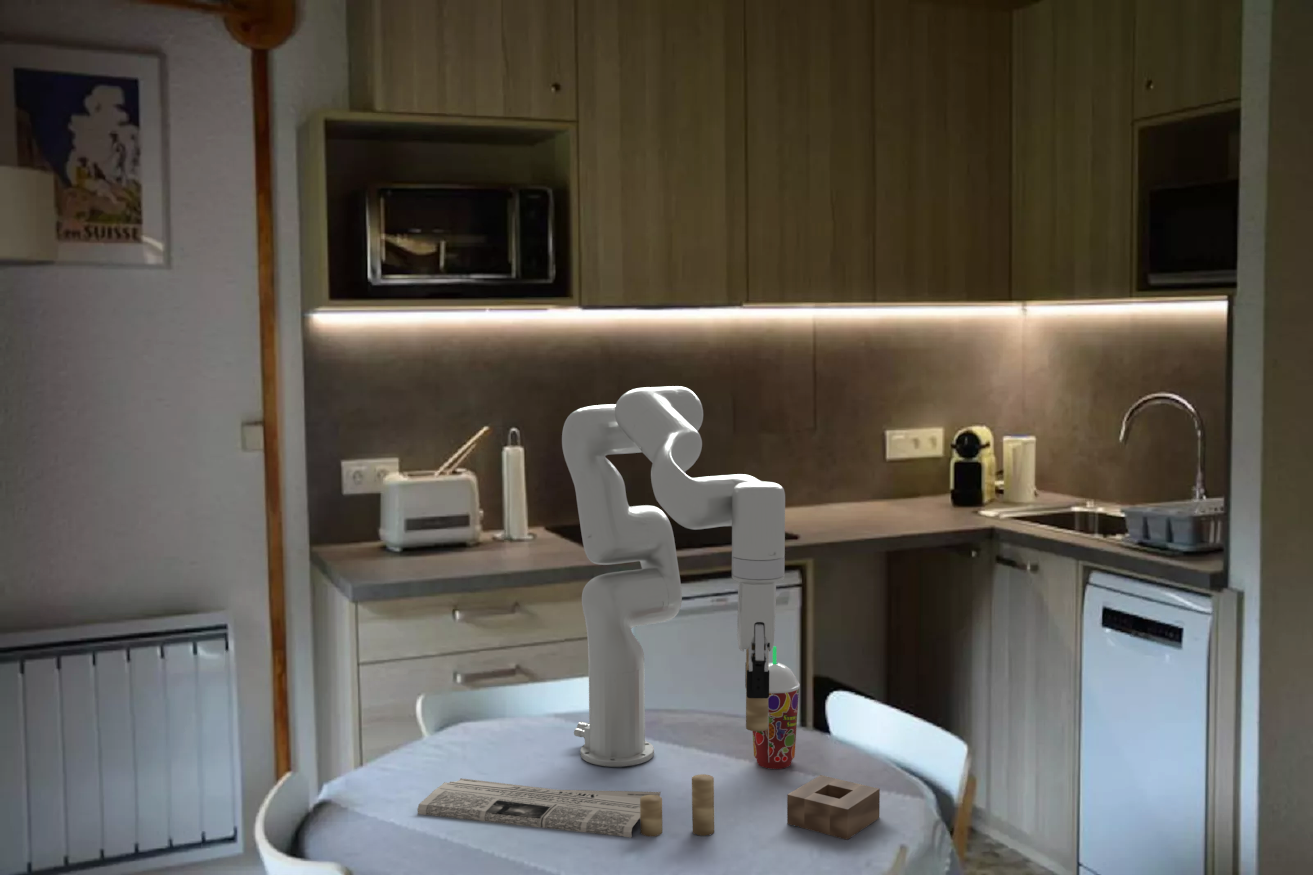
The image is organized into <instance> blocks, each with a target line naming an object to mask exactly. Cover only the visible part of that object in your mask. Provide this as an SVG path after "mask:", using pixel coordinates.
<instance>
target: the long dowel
mask: <svg viewBox="0 0 1313 875" xmlns="http://www.w3.org/2000/svg"><path fill="white" fill-rule="evenodd" d="M754 634H755V630H754ZM752 649H755V645H752ZM764 649H765V645H764ZM748 650H749V648H748V649H745V651H746V652H745V653H746V654H745V655H746V656H745V668H746V687H745V729H746V730H748V731H750V732H752V731H765V730H767V729H768V698H748V697H747V670H749V652H748ZM753 656H755V654H753ZM768 661H769V649H768Z"/></svg>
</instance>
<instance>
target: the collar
mask: <svg viewBox="0 0 1313 875" xmlns="http://www.w3.org/2000/svg"><path fill="white" fill-rule="evenodd" d="M880 790H881V789H880V788H879V787H874V786H869V785H865V784H861V783H858V782H857V783H856V782H851V781H848V780H843V779H839V778H835V777H830V776H827V775H822V774H820V775H818V776H817V777H814V778H813V779H811V780H810V781H808V782H806V783H804V784H803V785H801V786H800V787H798V788H795V789H794V790H793V791H791V792H789V793H787V795H786V796H787V797H786V798H787V799H786V804H787V805H786V809H787V811H786V812H787V814H786V818H787V819H786V822H787V823H786V824H787V825H789V824H790V826H793V825H795V826H794V827H797V826H799V827H798V828H801V829H805V830H809V831H812V832H817V833H820V834H824V835H828V836H832V837H835V838H839V839H841V840H842V839H843V840H847V841H848V840H849V839H851V838H852V837H854V836H855V835H857V834H859V833H860V832H861V831H862V830H864V829H865V828H867V827H868V826H870V825H871V824H873V823H874V822H876V821H877V820H878V819H880V807H881V806H880V802H881V801H880V797H881V794H880V793H881V791H880Z"/></svg>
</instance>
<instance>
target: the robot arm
mask: <svg viewBox="0 0 1313 875" xmlns="http://www.w3.org/2000/svg"><path fill="white" fill-rule="evenodd" d="M703 421H704V409H703V404H702V402H701V400H700V399H699V397H698V395H696V393H695V392H694V391H693V390H691V389H690V388H688V387H685V386H681V385H680V386H679V385H675V386H674V385H672V386H670V385H668V386H651V387H650V386H646V387H637V388H632V389H631V390H628V391H626V392H625V393H623V394H622V395H621V396H620V397H619V399H618V400H617V401H616V403H615V404H614V403H610V404H598V405H597V404H596V405H589V406H584V407H580V408H578V409H576V410H574V411H572V412H571V413H570V414H569V415H568V416H567V418H566V419H565V421H564V423H563V427H562V432H561V434H562V435H561V447H562V452H563V456H564V461H565V463H566V466H567V468H568V471H569V474H570V477H571V479H572V483H573V485H574V490H575V496H576V505H577V506H576V507H577V512H578V518H579V524H580V525H579V526H580V532H581V538H582V545H583V550H584V553H585V556H586V558H587V559H588V560H589V561H590V563H593V564H595V565H601V566H602V565H603V566H606V565H607V566H608V565H618V564H628V563H634V562H640V568H638V569H633V570H632V569H629V570H627V569H626V570H621V571H612V572H606V573H604V574H599V575H596V576H594V577H593V578H591V579H590V580H589V581H588V582H587V583H585V586H584V587H583V589H582V591H581V592H582V594H581V606H582V614H583V616H584V621H585V627H586V635H587V636H586V637H587V652H588V653H587V655H588V656H587V657H588V718H589V719H588V722H585V721H579V722H578V724H577V726H576V728H575V729H574V730H573V735H574V736H575V737H579V738H583V739H584V744H583V745H582V746H581V747H580V757H581V759H582V760H584V761H586V762H587V763H589V764H592V765H596V766H601V767H609V768H616V767H617V768H619V767H631V766H636V765H640V764H643V763H645V762H648V761H650V760H651V759H653V757H654V755H655V747H654V745H653V744H652V743H650V742H649V741H647V740H646V707H645V706H646V703H645V702H646V701H645V700H646V698H645V697H646V695H645V694H646V693H645V690H646V688H645V686H646V682H645V681H646V680H645V679H646V678H645V677H646V676H645V673H646V670H645V652H644V649H643V647H642V645H641V643H640V641H638V639H637V638H636V636H635V635H634V633H633V630H632V629H633V628H635V627H636V628H637V627H639V626H640V627H641V626H646V625H653V624H659V623H664V622H668V621H670V620H672V619H674V618H675V617H676V616H677V615H678V614H679V612H680V610H681V607H682V600H683V599H682V598H683V592H682V583H681V576H680V569H679V563H678V556H677V549H676V543H675V541H676V540H675V537H674V531H673V527H672V524H671V522H670V520H669V518H668V516H670V518H671V519H672V520H673V521H675V522H676V523H677V524H678V525H680V526H682V528H683V527H684V528H685V529H689V530H695V531H696V530H704V529H713V528H719V527H731V579H732V580H734V581H736V582H738V589H737V629H736V630H737V632H736V633H737V634H736V636H737V645H738V649H739V650H740V651H741V652H745V650H746V649H748V648H749V650H748V652H749V670H747V697H748V698H768V697H769V670H768V663H769V660H768V649H769V652H771V651H773V646H775V633H776V632H775V631H776V613H777V612H776V610H777V609H776V606H777V602H776V601H777V583H780V582H782V581H784V580H785V567H786V566H785V563H786V562H785V561H786V560H785V558H786V557H785V556H786V555H785V554H786V552H785V551H786V550H785V548H786V547H785V546H786V541H785V540H786V538H785V537H786V492H785V488H784V487H783V486H782V485H780V484H779V483H776V482H773V481H764V480H760V479H758V478H757V477H755V476H754V475H753V476H752V475H749V474H745V473H744V474H743V473H737V474H721V475H710V476H709V475H708V476H698V477H691V476H689V475H688V474H686V472H687V471H688V470H690V468H692V466H694V464H695V463H696V461H698V459H699V457H700V455H701V452H702V447H703V440H702V437H701V434H700V432H699V430H700V428H701V426H702V424H703ZM636 453H637V454H638V453H642V454H643V455H644V456H645V457H646V458H647V459H648V460H649V461H650V462H651V463H652V464H651V468H650V479H651V480H650V481H651V482H650V483H651V487H652V490H653V494H654V497H655V500H656V502H658V504H659V505H660V507H662V508H661V509H660V508H659V507H657V506H655V505H649V504H645V505H644V504H643V505H641V504H640V505H633V506H632V505H631V506H630V504H629V502H628V498H627V493H626V485H625V481H624V479H623V476H622V475H621V473H620V472H619V470H618V469H617V467H616V466H615V465H614V464H613V463H612V462H611V461H610V460H609V459H608V458H607V457H606V456H608V455H624V454H636ZM662 509H663V510H664V511H663V510H662ZM665 512H666V513H667V515H666V513H665ZM754 630H755V634H754ZM752 645H755V649H752ZM764 645H765V649H764ZM753 654H755V656H753ZM744 673H745V675H744V676H745V680H744V681H745V682H744V683H745V688H746V667H745V672H744Z"/></svg>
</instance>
